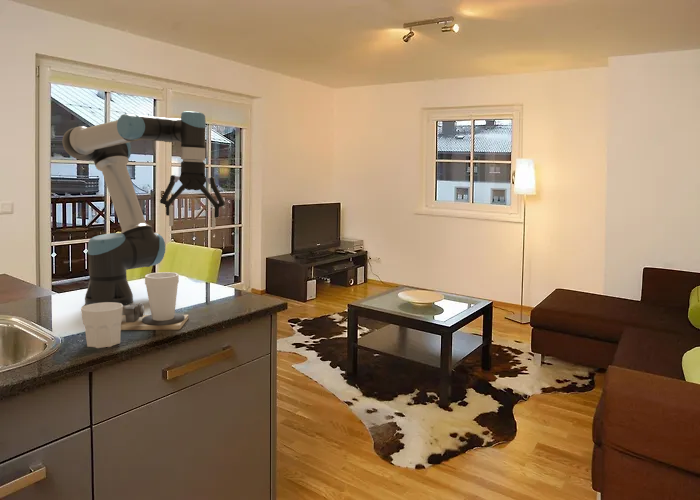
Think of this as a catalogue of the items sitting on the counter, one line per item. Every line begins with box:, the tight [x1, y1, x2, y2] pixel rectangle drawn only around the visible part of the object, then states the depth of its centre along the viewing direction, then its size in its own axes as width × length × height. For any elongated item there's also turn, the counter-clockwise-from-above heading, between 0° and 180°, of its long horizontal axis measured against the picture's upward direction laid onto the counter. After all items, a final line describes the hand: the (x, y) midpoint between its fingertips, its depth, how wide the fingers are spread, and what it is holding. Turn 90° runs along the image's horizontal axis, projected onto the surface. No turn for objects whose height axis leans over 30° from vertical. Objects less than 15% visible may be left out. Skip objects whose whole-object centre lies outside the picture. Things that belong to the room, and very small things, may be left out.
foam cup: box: [144, 271, 180, 321], centre depth 162 cm, size 10×9×13 cm
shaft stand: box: [121, 303, 189, 331], centre depth 163 cm, size 22×12×6 cm, turn 95°
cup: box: [80, 302, 124, 349], centre depth 144 cm, size 10×10×10 cm
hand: (192, 226), depth 179 cm, fingers open, 13 cm apart
